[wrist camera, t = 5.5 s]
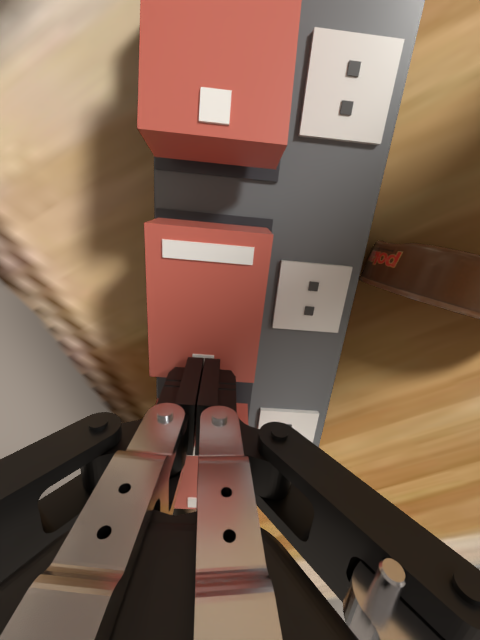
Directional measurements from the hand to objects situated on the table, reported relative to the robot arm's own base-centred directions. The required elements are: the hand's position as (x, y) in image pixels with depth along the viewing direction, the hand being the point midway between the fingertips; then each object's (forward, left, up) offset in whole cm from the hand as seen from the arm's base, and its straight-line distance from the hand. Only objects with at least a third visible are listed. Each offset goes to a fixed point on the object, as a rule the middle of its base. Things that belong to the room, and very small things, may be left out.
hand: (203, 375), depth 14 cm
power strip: (-2, -3, -8) cm, 9 cm away
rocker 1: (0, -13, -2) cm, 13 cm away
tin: (-16, -4, -8) cm, 18 cm away
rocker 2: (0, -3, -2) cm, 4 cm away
